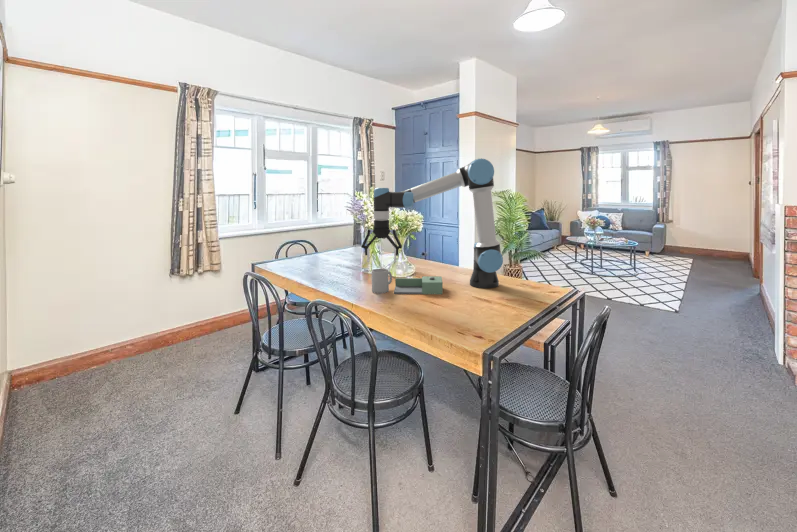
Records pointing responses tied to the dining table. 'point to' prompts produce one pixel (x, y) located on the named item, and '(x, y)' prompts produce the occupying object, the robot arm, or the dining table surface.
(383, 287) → the mug
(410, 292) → the green stepped block
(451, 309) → the dining table surface
